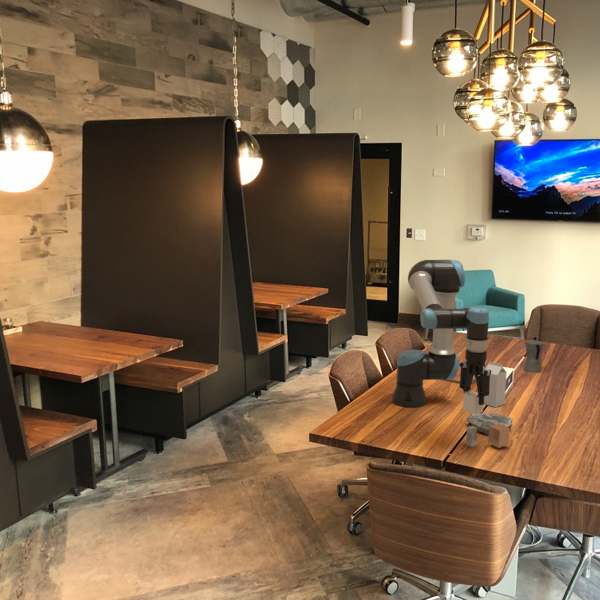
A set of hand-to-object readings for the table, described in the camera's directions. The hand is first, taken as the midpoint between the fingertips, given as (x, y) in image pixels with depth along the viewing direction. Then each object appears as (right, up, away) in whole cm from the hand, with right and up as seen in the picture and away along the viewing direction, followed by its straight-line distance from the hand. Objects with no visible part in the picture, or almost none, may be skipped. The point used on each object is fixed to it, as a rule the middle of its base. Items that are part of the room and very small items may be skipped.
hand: (473, 410), depth 249 cm
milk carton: (+22, -6, +49) cm, 54 cm away
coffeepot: (+58, +4, +102) cm, 117 cm away
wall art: (+12, +3, +99) cm, 100 cm away
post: (0, -14, +3) cm, 14 cm away
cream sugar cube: (0, 0, 0) cm, 0 cm away
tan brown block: (+10, -14, +2) cm, 17 cm away
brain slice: (+12, -11, +21) cm, 27 cm away
